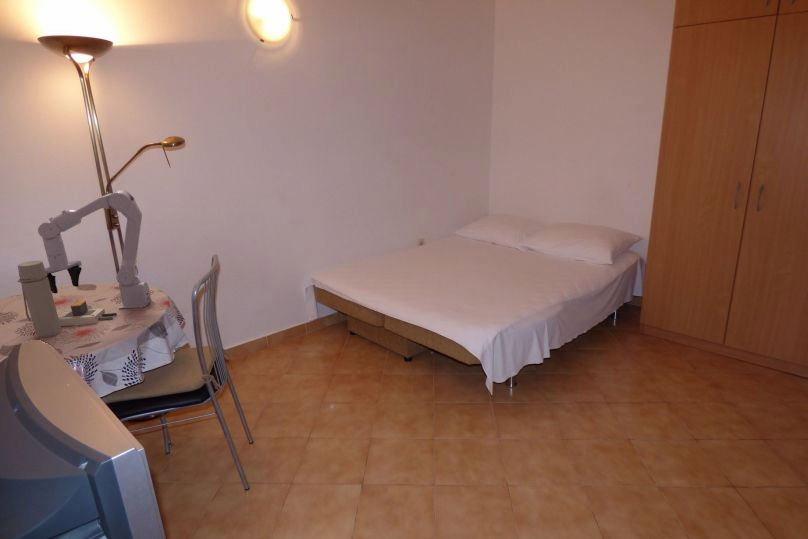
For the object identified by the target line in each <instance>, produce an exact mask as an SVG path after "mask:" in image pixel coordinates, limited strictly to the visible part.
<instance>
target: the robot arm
mask: <svg viewBox="0 0 808 539" xmlns="http://www.w3.org/2000/svg"><path fill="white" fill-rule="evenodd" d="M101 209H105V210H106V209H107V210H110V209H114V211H117V212H119V213H121V214H122V216H124V217H125V218H126V228H125V235H124V241H123V242H124V243H123V251H122V258H121V259H122V260H121V263H120V269H119V271H118V272H117V274H116V275H115V276H116V277H115V278H116V281H117V282H118V289H119V291H120V293H119V294H120V297H121V302H122V305H120V306H119V308H118V309H119V310H124V309H135V308H146V305H147V306H148V305H149V304H150V303H151V302H152V301H153V299H152V297H151V293H150V287H149V284H148V282H146V281H141V280H140V279H139V278H138V277H137V276H138V274H139V269H138V267H137V266H138V265H137V257H138V250H139V243H140V242H139V241H140V235H141V228H142V226H141V225H142V218H143V213H142V211H141V209H140V207H139V205H138V204H137V202H136V199H135V197H134V196H133V195H132V194H131V193H130V192H129V191H127V190H124V189H118V190H115V191H114V192H111V193H108V194H104V195H102V196H100V197H98V198H96V199H94V200H93V201H91V202H90V203H88V204H86V205H83V206H82V207H80V208H78V209H76V210H75V209H63V210H62V211H61V213H60V214H58V215H56V216H54V217H52V216H51V217H49V218H48V220H47V221H45V222H43V223H41V224H40V225H39V226H38V228H37V233H38V234H39V236H40V237H41V238H42V241H43V242H42V243H43V247H44V250H45V254H46V257H47V262H48V264H49V266H48V267H45V270H46V272H47V276H46V277H48V280H49V284H50V288H51V292H52V294H58V288H57V283H56V279H57V278H56V277H57V276H56V275H54V273H58V272H62V271H65V270H67V272H68V275H69V276H70V280H71V284H72V287H76V288H77V287H79V281H80V275H81V272H82V270H83V269H82V265H83V264H82V261H81V260H77V259H76V260H73V261H69V258H68V256H67V252H66V249H65V244H64V241H63V237H62V235H61V233H64V232H67V231H68V230H70V229H72V228H74V227H76V226H77V225H80V224H81V222H82V219H83V218H85V217H87V216H89V215H91V214H93V213H95V212H97V211H98V210H101Z"/></svg>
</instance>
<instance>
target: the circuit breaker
mask: <svg viewBox="0 0 808 539" xmlns="http://www.w3.org/2000/svg"><path fill="white" fill-rule="evenodd" d="M102 314H106V310H105V308H93V309H88V311H87V312H85V313H84V314H83V315H77V316H73V314H72V310H71V311H65V312H63V313H61V315H58V319H59V322H60V326H61V327H66V326H79V325H89V324H90V325H91V324H97V323H98V322H99V321H100V320H99V319H98V318H99V317H103V316H102Z"/></svg>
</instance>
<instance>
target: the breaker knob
mask: <svg viewBox="0 0 808 539" xmlns="http://www.w3.org/2000/svg"><path fill="white" fill-rule="evenodd" d="M70 310H71V311H72V314H73V316H77V315H83V314H84V313H85V312H87V311H88V310H89V309H88V306H87V302H86V300H76V301H75V302H73V303H72V304H71V305H70Z"/></svg>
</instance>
